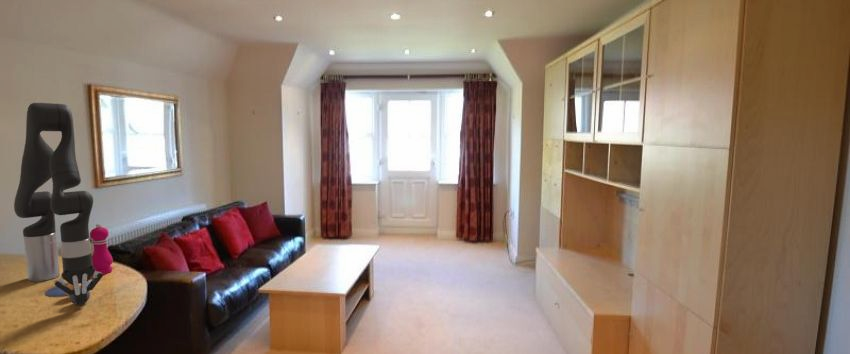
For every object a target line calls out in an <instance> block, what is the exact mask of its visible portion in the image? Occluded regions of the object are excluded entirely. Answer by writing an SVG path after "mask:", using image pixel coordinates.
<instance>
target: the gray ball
mask: <svg viewBox="0 0 850 354" xmlns="http://www.w3.org/2000/svg"><path fill="white" fill-rule="evenodd" d="M79 290H80V293H81V287H79ZM90 297H91V290H90V291H88V292H87V301H89V299H90ZM68 300H69V301H70V302H71V303H72V304H74V305H77V304H76V302H75V295H69V296H68Z"/></svg>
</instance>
